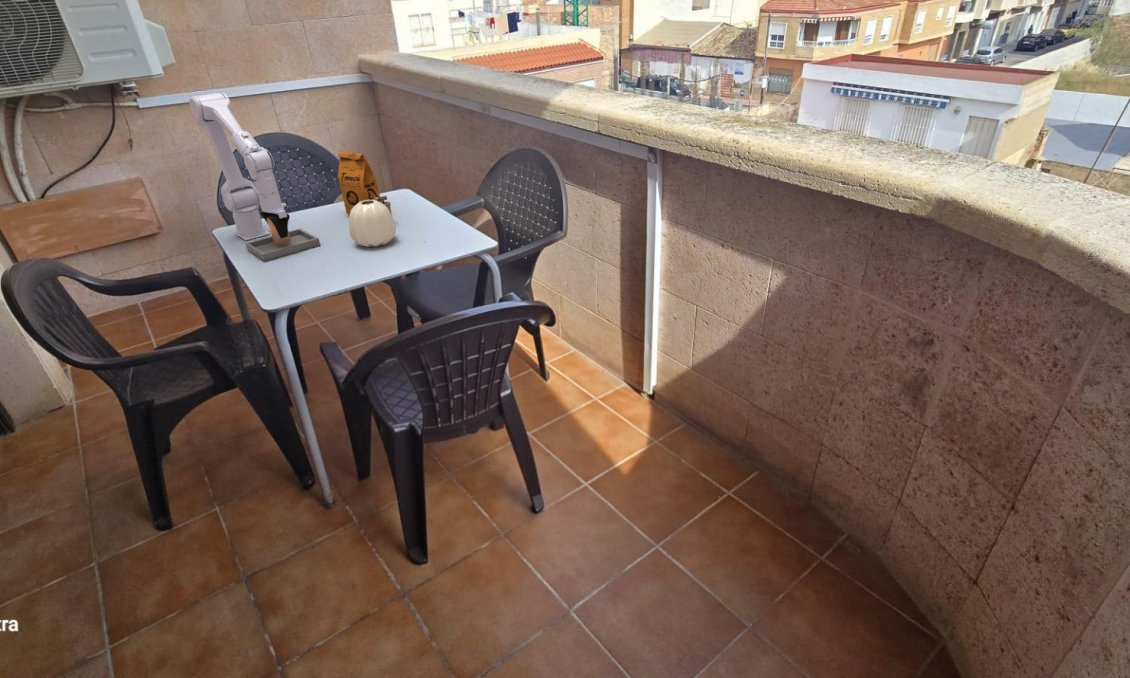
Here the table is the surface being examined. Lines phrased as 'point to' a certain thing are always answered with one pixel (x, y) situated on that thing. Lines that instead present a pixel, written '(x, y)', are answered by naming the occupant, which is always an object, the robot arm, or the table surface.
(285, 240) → the cup
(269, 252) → the tray
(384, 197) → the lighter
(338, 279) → the table surface
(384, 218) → the vase
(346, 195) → the coffee package
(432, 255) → the table surface
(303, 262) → the table surface
